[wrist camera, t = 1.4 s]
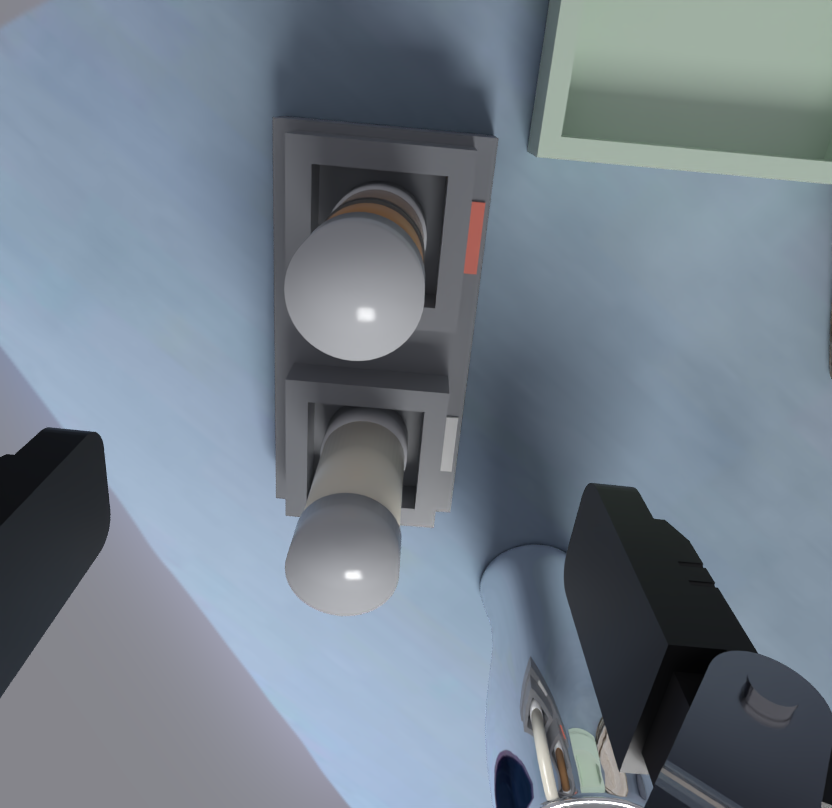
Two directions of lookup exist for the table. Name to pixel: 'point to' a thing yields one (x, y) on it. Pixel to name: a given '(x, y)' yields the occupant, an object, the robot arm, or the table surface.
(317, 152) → the fuse block
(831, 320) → the washcloth
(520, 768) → the beer glass
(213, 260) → the table surface
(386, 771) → the table surface
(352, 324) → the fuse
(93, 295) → the table surface
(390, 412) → the fuse
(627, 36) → the parts tray
